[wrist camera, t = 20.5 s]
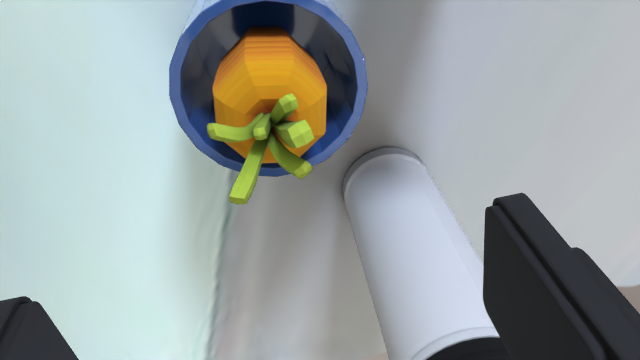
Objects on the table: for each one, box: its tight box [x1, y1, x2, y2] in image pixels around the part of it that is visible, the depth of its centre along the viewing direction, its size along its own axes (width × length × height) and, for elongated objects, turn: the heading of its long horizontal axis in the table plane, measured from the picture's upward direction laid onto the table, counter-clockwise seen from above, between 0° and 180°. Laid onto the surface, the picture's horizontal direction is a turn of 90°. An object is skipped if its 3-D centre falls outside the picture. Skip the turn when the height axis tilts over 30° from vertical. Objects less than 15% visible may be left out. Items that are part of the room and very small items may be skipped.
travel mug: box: [342, 147, 512, 360], centre depth 27 cm, size 6×7×20 cm
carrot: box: [207, 26, 327, 204], centre depth 23 cm, size 5×5×15 cm
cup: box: [169, 0, 368, 177], centre depth 26 cm, size 9×9×8 cm
